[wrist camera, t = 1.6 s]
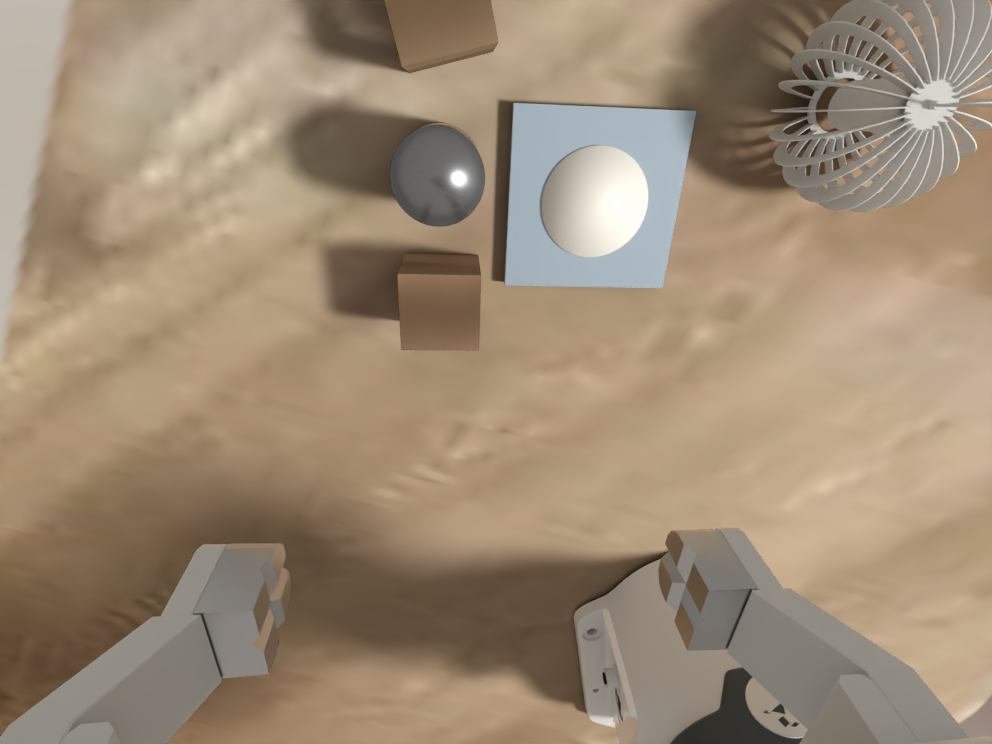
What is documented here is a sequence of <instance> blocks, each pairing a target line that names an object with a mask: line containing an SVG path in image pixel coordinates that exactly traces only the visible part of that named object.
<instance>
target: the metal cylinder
mask: <svg viewBox="0 0 992 744" xmlns="http://www.w3.org/2000/svg"><path fill="white" fill-rule="evenodd" d="M390 183H391V187H392V191H393V194H394V196H395V198H396V200H397V202H398V203H399V205H400V206H401V208H402V209H403V210H404V211H405V212H406V213H407V214H408V215H409V216H411V217H412V218H413V219H415V220H417V221H419V222H421V223H423V224H426V225H430V226H438V227H439V226H449V225H452V224H456V223H458V222H460V221H462V220H463V219H465V218H466V217H467V216H469V215H470V214H471V213H472V212H473V210H474V209H475V208H476V206H477V205H478V203H479V201H480V199H481V197H482V194H483V190H484V185H485V172H484V166H483V163H482V160H481V157H480V155H479V153H478V151H477V148H476V146H475V145H474V143H473V141H472V140H471V139H470V137H469V136H468V135H467V134H466V133H465V132H464V131H462V130H461V129H459V128H458V127H456V126H453V125H451V124H447V123H432V124H428V125H425V126H423V127H421V128H419V129H417V130H416V131H414V132H412V133H411V134H409V135H408V136H407V137H406V138H405V139H404V140H402V142H401V143H400V144H399V145H398V147H397V149H396V150H395V153H394V155H393V157H392V161H391V166H390Z"/></svg>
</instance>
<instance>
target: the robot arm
mask: <svg viewBox="0 0 992 744" xmlns="http://www.w3.org/2000/svg"><path fill="white" fill-rule="evenodd" d="M665 544H666V546H667V548H668V550H669V552H668V553H666V554H665V555H664V556H663V557H662V558H661V559H659V560H657V561H654V562H652V563H650V564H648V565H646V566H644V567H642V568H640V569H639V570H637V571H636V572H634V573H633V574H631V575H630V576H628V577H627V578H626V579H625V580H623V581H622V582H621V583H620V584H619V585H618V586H617V587H616V588H614V589H613V590H612V591H611V592H609V593H608V594H607V595H605V596H603V597H600V598H598V599H596V600H594V601H591V602H589V603H587V604H585V605H583V606H582V607H580V608H579V609H578V610H577V611H576V612H575V614H574V623H575V631H576V639H577V646H578V654H579V662H580V670H581V678H582V685H583V693H584V701H585V707H586V711H587V714H588V717H589V719H590V720H591V721H593V722H596V723H599V724H602V725H605V726H610V727H616V730H617V734H618V738H619V742H620V744H992V736H986V737H974V738H969V736H968V735H967V734H966V733H965V732H964V730H963V729H962V728H961V727H960V726H959V724H958V723H957V722H956V720H955V719H954V718H953V717H952V716H951V714H950V713H949V712H948V711H947V709H946V708H945V707H944V706H943V705H942V703H941V702H940V701H939V700H938V698H937V697H936V696H935V695H934V694H933V692H932V691H931V690H930V689H929V688H928V686H927V685H926V684H925V683H924V681H923V680H922V679H921V678H920V677H919V675H918V674H917V673H916V672H915V670H914V669H913V668H911V667H910V666H908V665H907V664H905V663H903V662H902V661H900V660H899V659H897V658H896V657H894V656H893V655H891V654H890V653H888V652H887V651H885V650H884V649H882V648H880V647H879V646H877V645H876V644H874V643H873V642H871V641H870V640H868V639H867V638H865V637H864V636H862V635H861V634H859V633H857V632H856V631H854V630H853V629H851V628H850V627H848V626H847V625H845V624H844V623H842V622H841V621H839V620H838V619H836V618H834V617H833V616H831V615H830V614H828V613H827V612H825V611H824V610H822V609H821V608H819V607H818V606H816V605H815V604H813V603H811V602H810V601H808V600H807V599H805V598H804V597H802V596H801V595H799V594H798V593H796V592H795V591H793V590H792V589H783V587H782V586H781V585H780V583H779V582H778V580H777V579H776V577H775V576H774V575H773V573H772V572H771V570H770V569H769V567H768V566H767V565H766V563H765V562H764V560H763V559H762V557H761V556H760V555H759V553H758V552H757V550H756V549H755V547H754V546H753V545H752V543H751V542H750V540H749V539H748V537H747V536H746V535H745V533H744V532H743V531H742V530H740V529H739V528H724V529H698V530H674V531H671V532H670V533H669V534H668V536H667V539H666V543H665ZM285 559H286V553H285V549H284V545H283V544H281V543H232V544H203V545H202V546H201V547H199V548H198V549H197V550H196V552H195V553H194V555H193V557H192V559H191V561H190V563H189V564H188V566H187V568H186V570H185V572H184V574H183V576H182V577H181V579H180V581H179V583H178V585H177V587H176V588H175V590H174V592H173V594H172V596H171V598H170V599H169V601H168V603H167V605H166V607H165V609H164V611H163V612H162V614H161V616H156V617H151V618H150V619H148V620H147V621H146V622H144V623H143V624H142V625H140V626H139V627H138V628H137V629H135V630H134V631H133V632H131V633H130V634H129V635H127V636H126V637H125V638H123V639H122V640H121V641H119V642H118V643H117V644H115V645H114V646H113V647H111V648H110V649H109V650H107V651H106V652H105V653H103V654H102V655H101V656H100V657H98V658H97V659H96V660H94V661H93V662H92V663H90V664H89V665H88V666H86V667H85V668H84V669H82V670H81V671H80V672H78V673H77V674H76V675H74V676H73V677H72V678H70V679H69V680H68V681H67V682H65V683H64V684H63V685H61V686H60V687H59V688H57V689H56V690H55V691H53V692H52V693H51V694H49V695H48V696H47V697H45V698H44V699H43V700H41V701H40V702H39V703H37V704H36V705H35V706H34V707H32V708H31V709H30V710H28V711H27V712H26V713H24V714H23V715H22V716H20V717H19V718H18V719H16V720H15V721H14V722H12V723H11V724H10V725H8V727H7V728H6V730H5V731H4V733H3V734H2V735H1V737H0V744H166V743H167V742H168V741H169V740H170V739H171V738H172V737H173V736H174V735H175V733H176V732H177V731H178V730H179V729H180V728H181V727H182V726H183V724H184V723H185V722H186V721H187V720H188V719H189V718H190V717H191V715H192V714H193V713H194V712H195V711H196V710H197V709H198V708H199V706H200V705H201V704H202V703H203V702H204V701H205V700H206V699H207V698H208V696H209V695H210V694H211V693H212V692H213V691H214V690H215V689H216V687H217V686H218V685H219V684H220V683H221V682H222V679H221V678H233V677H245V676H257V675H268V674H269V673H270V670H271V666H272V663H273V660H274V657H275V653H276V650H277V647H278V643H279V639H278V634H277V628H278V627H279V626H280V625H281V624H282V623H283V622H284V621H285V620H286V616H287V613H288V609H289V604H290V596H291V579H290V573H289V571H288V570H286V569H285V568H284V567H283V565H284V562H285Z"/></svg>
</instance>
